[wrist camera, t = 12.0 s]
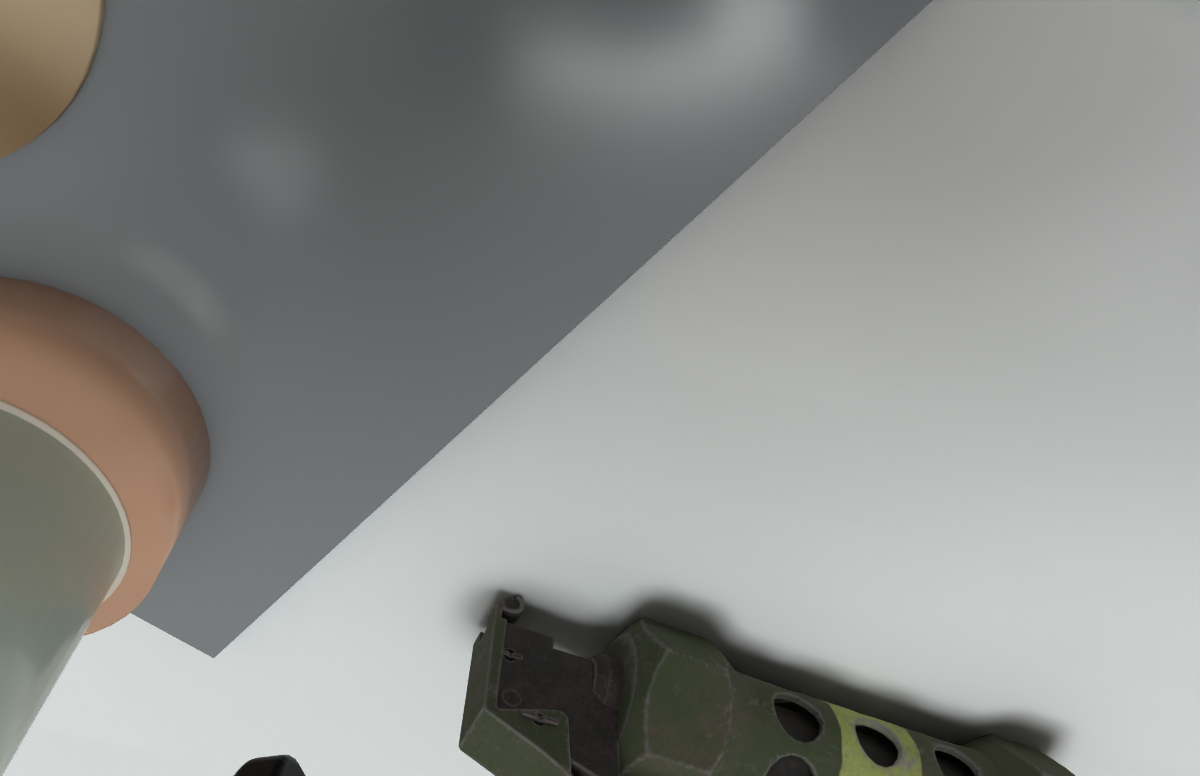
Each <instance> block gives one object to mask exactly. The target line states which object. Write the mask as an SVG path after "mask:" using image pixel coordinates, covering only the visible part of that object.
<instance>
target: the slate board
mask: <svg viewBox="0 0 1200 776" xmlns="http://www.w3.org/2000/svg"><path fill="white" fill-rule="evenodd" d="M931 1H932V0H105V14H104V20H103V25H102V31H101V37H100V42H99V46H98V49H97V52H96V55H95V58H94V61H93V64H92V66H91V69H90V72H89V74H88V76H87V78H86V80H85V82H84V83H83V85H82V87H81V89H80V91H79V92H78V94H77V96H76V98H75V99H74V100H73V102H72V103H71V104H70V105H69V107H68V108H67V109H66V110H65V111H64V113H63V114H62V115H61V116H60V118H59V119H58V120H57V121H55V122H54V123H53V124H52V125H51V126H50V127H49V128H47V129H46V130H45V131H44V132H43V133H42V134H41V135H39V136H38V137H37V138H35V139H34V140H32V141H31V142H29V143H28V144H26V145H24V146H23V147H21V148H19V149H18V150H16V151H15V152H13V153H11V154H10V155H8V156H5V157H3V158H0V277H7V278H13V279H20V280H27V281H31V282H35V283H38V284H42V285H46V286H50V287H54V288H56V289H59V290H62V291H64V292H67V293H70V294H73V295H75V296H78V297H80V298H82V299H84V300H86V301H88V302H90V303H92V304H95V305H97V306H99V307H101V308H103V309H104V310H106V311H108V312H109V313H111V314H113V315H114V316H116V317H118V318H119V319H121V320H122V321H124V322H125V323H127V324H128V325H129V326H131V327H132V328H133V329H135V330H136V331H137V332H139V333H140V334H142V335H143V336H144V337H145V338H146V339H147V340H148V341H150V342H151V343H152V344H153V345H154V346H155V347H156V348H157V349H158V350H159V351H161V352H162V353H163V355H164V356H165V357H166V358H167V359H168V360H169V361H170V362H171V364H172V365H173V366H174V367H175V368H176V369H177V371H178V372H179V373H180V375H181V376H182V378H183V379H184V380H185V382H186V383H187V385H188V386H189V387H190V389H191V391H192V393H193V395H194V397H195V399H196V400H197V402H198V404H199V406H200V409H201V412H202V414H203V417H204V420H205V422H206V426H207V431H208V435H209V440H210V456H211V459H210V467H209V474H208V477H207V481H206V484H205V487H204V490H203V491H202V493H201V495H200V497H199V499H198V501H197V503H196V505H195V506H194V508H193V510H192V512H191V514H190V516H189V518H188V520H187V521H186V523H185V525H184V527H183V529H182V531H181V533H180V535H179V537H178V538H177V540H176V542H175V544H174V546H173V548H172V550H171V552H170V553H169V555H168V557H167V559H166V561H165V563H164V565H163V567H162V569H161V570H160V572H159V574H158V576H157V578H156V580H155V582H154V584H153V585H152V587H151V589H150V591H149V593H148V594H147V595H146V597H145V598H144V599H143V600H142V602H141V603H140V604H139V605H138V606H137V607H136V608H135V609H134V610H132V611H131V612H130V613H132V614H134V615H135V616H137V617H139V618H141V619H143V620H145V621H146V622H148V623H150V624H152V625H154V626H156V627H157V628H159V629H161V630H163V631H165V632H167V633H168V634H170V635H172V636H174V637H176V638H178V639H179V640H181V641H183V642H185V643H187V644H189V645H190V646H192V647H194V648H196V649H198V650H200V651H202V652H203V653H205V654H207V655H209V656H211V657H213V658H214V657H215V656H217V655H218V654H219V653H220V652H221V651H222V650H223V649H224V648H225V647H226V646H227V645H229V644H230V643H231V642H232V641H233V640H234V639H235V638H236V637H237V636H238V635H239V634H241V633H242V632H243V631H244V630H245V629H246V628H247V627H248V626H249V625H250V624H252V623H253V622H254V621H255V620H256V619H257V618H258V617H259V616H260V615H261V614H262V613H264V612H265V611H266V610H267V609H268V608H269V607H270V606H271V605H272V604H273V603H274V602H276V601H277V600H278V599H279V598H280V597H281V596H282V595H283V594H284V593H285V592H286V591H288V590H289V589H290V588H291V587H292V586H293V585H294V584H295V583H296V582H297V581H298V580H300V579H301V578H302V577H303V576H304V575H305V574H306V573H307V572H308V571H309V570H310V569H312V568H313V567H314V566H315V565H316V564H317V563H318V562H319V561H320V560H321V559H323V558H324V557H325V556H326V555H327V554H328V553H329V552H330V551H331V550H332V549H333V548H335V547H336V546H337V545H338V544H339V543H340V542H341V541H342V540H343V539H344V538H345V537H347V536H348V535H349V534H350V533H351V532H352V531H353V530H354V529H355V528H356V527H357V526H359V525H360V524H361V523H362V522H363V521H364V520H365V519H366V518H367V517H368V516H369V515H371V514H372V513H373V512H374V511H375V510H376V509H377V508H378V507H379V506H380V505H381V504H383V503H384V502H385V501H386V500H387V499H388V498H389V497H390V496H391V495H392V494H394V493H395V492H396V491H397V490H398V489H399V488H400V487H401V486H402V485H403V484H404V483H406V482H407V481H408V480H409V479H410V478H411V477H412V476H413V475H414V474H415V473H416V472H418V471H419V470H420V469H421V468H422V467H423V466H424V465H425V464H426V463H427V462H428V461H430V460H431V459H432V458H433V457H434V456H435V455H436V454H437V453H438V452H439V451H440V450H442V449H443V448H444V447H445V446H446V445H447V444H448V443H449V442H450V441H451V440H453V439H454V438H455V437H456V436H457V435H458V434H459V433H460V432H461V431H462V430H463V429H465V428H466V427H467V426H468V425H469V424H470V423H471V422H472V421H473V420H474V419H475V418H477V417H478V416H479V415H480V414H481V413H482V412H483V411H484V410H485V409H486V408H487V407H489V406H490V405H491V404H492V403H493V402H494V401H495V400H496V399H497V398H498V397H499V396H501V395H502V394H503V393H504V392H505V391H506V390H507V389H508V388H509V387H510V386H511V385H513V384H514V383H515V382H516V381H517V380H518V379H519V378H520V377H521V376H522V375H524V374H525V373H526V372H527V371H528V370H529V369H530V368H531V367H532V366H533V365H534V364H536V363H537V362H538V361H539V360H540V359H541V358H542V357H543V356H544V355H545V354H546V353H548V352H549V351H550V350H551V349H552V348H553V347H554V346H555V345H556V344H557V343H558V342H560V341H561V340H562V339H563V338H564V337H565V336H566V335H567V334H568V333H569V332H570V331H572V330H573V329H574V328H575V327H576V326H577V325H578V324H579V323H580V322H581V321H582V320H584V319H585V318H586V317H587V316H588V315H589V314H590V313H591V312H592V311H593V310H595V309H596V308H597V307H598V306H599V305H600V304H601V303H602V302H603V301H604V300H605V299H607V298H608V297H609V296H610V295H611V294H612V293H613V292H614V291H615V290H616V289H617V288H619V287H620V286H621V285H622V284H623V283H624V282H625V281H626V280H627V279H628V278H629V277H631V276H632V275H633V274H634V273H635V272H636V271H637V270H638V269H639V268H640V267H641V266H643V265H644V264H645V263H646V262H647V261H648V260H649V259H650V258H651V257H652V256H653V255H655V254H656V253H657V252H658V251H659V250H660V249H661V248H662V247H663V246H664V245H666V244H667V243H668V242H669V241H670V240H671V239H672V238H673V237H674V236H675V235H676V234H678V233H679V232H680V231H681V230H682V229H683V228H684V227H685V226H686V225H687V224H688V223H690V222H691V221H692V220H693V219H694V218H695V217H696V216H697V215H698V214H699V213H700V212H702V211H703V210H704V209H705V208H706V207H707V206H708V205H709V204H710V203H711V202H712V201H714V200H715V199H716V198H717V197H718V196H719V195H720V194H721V193H722V192H723V191H724V190H726V189H727V188H728V187H729V186H730V185H731V184H732V183H733V182H734V181H735V180H737V179H738V178H739V177H740V176H741V175H742V174H743V173H744V172H745V171H746V170H747V169H749V168H750V167H751V166H752V165H753V164H754V163H755V162H756V161H757V160H758V159H759V158H761V157H762V156H763V155H764V154H765V153H766V152H767V151H768V150H769V149H770V148H771V147H773V146H774V145H775V144H776V143H777V142H778V141H779V140H780V139H781V138H782V137H783V136H785V135H786V134H787V133H788V132H789V131H790V130H791V129H792V128H793V127H794V126H795V125H797V124H798V123H799V122H800V121H801V120H802V119H803V118H804V117H805V116H806V115H808V114H809V113H810V112H811V111H812V110H813V109H814V108H815V107H816V106H817V105H818V104H820V103H821V102H822V101H823V100H824V99H825V98H826V97H827V96H828V95H829V94H830V93H832V92H833V91H834V90H835V89H836V88H837V87H838V86H839V85H840V84H841V83H842V82H844V81H845V80H846V79H847V78H848V77H849V76H850V75H851V74H852V73H853V72H854V71H856V70H857V69H858V68H859V67H860V66H861V65H862V64H863V63H864V62H865V61H866V60H868V59H869V58H870V57H871V56H872V55H873V54H874V53H875V52H876V51H877V50H879V49H880V48H881V47H882V46H883V45H884V44H885V43H886V42H887V41H888V40H889V39H891V38H892V37H893V36H894V35H895V34H896V33H897V32H898V31H899V30H900V29H901V28H903V27H904V26H905V25H906V24H907V23H908V22H909V21H910V20H911V19H912V18H913V17H915V16H916V15H917V14H918V13H919V12H920V11H921V10H922V9H923V8H924V7H925V6H927V5H928V4H929V3H930V2H931Z"/></svg>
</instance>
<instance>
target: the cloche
mask: <svg viewBox="0 0 1200 776" xmlns="http://www.w3.org/2000/svg"><path fill="white" fill-rule="evenodd" d="M124 554H125V535H124V529H123V524H122V521H121V518H120V515H119V512H118V509H117V507H116V505H115V503H114V502H113V500H112V498H111V496H110V494H109V492H108V491H107V490H106V488H105V487H104V485H103V484H102V482H101V481H100V479H99V478H98V477H97V476H96V475H95V474H94V472H93V471H92V470H91V469H90V468H89V467H88V466H87V464H85V463H84V462H83V461H82V460H81V459H80V458H79V457H78V456H77V455H76V454H75V453H74V452H73V451H71V450H70V449H69V448H68V447H66V446H65V445H64V444H62V443H61V442H60V441H58V440H57V439H56V438H54V437H53V436H51V435H50V434H48V433H47V432H45V431H43V430H42V429H40V428H39V427H37V426H35V425H33V424H32V423H30V422H28V421H26V420H24V419H22V418H20V417H18V416H16V415H14V414H11V413H9V412H6V411H4V410H2V409H0V776H2V775H3V773H4V772H5V770H6V768H7V766H8V765H9V763H10V761H11V760H12V758H13V756H14V754H15V753H16V751H17V749H18V747H19V746H20V744H21V742H22V741H23V739H24V737H25V735H26V734H27V732H28V730H29V728H30V727H31V725H32V723H33V721H34V720H35V718H36V716H37V715H38V713H39V711H40V709H41V708H42V706H43V704H44V702H45V701H46V699H47V697H48V696H49V694H50V692H51V690H52V689H53V687H54V685H55V683H56V682H57V680H58V678H59V677H60V675H61V673H62V671H63V670H64V668H65V666H66V664H67V663H68V661H69V659H70V657H71V656H72V654H73V652H74V651H75V649H76V647H77V645H78V644H79V642H80V640H81V638H82V637H83V635H84V633H85V632H86V630H87V628H88V626H89V625H90V623H91V621H92V619H93V618H94V616H95V614H96V613H97V611H98V609H99V607H100V606H101V604H102V602H103V600H104V599H105V597H106V595H107V593H108V592H109V590H110V588H111V587H112V585H113V583H114V581H115V580H116V578H117V576H118V574H119V571H120V569H121V567H122V564H123V559H124Z"/></svg>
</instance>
